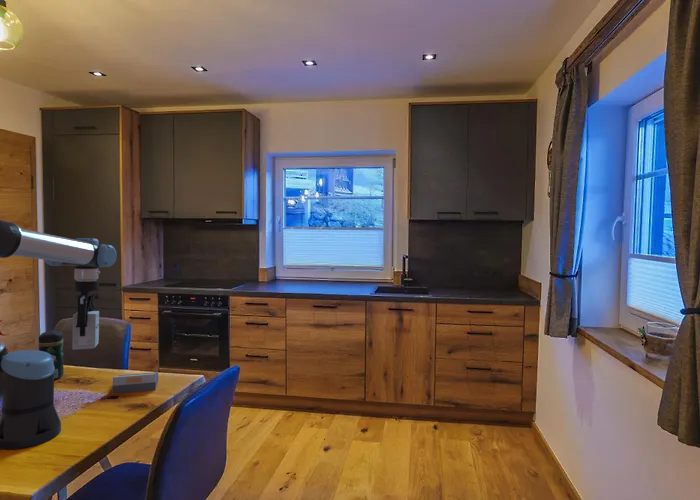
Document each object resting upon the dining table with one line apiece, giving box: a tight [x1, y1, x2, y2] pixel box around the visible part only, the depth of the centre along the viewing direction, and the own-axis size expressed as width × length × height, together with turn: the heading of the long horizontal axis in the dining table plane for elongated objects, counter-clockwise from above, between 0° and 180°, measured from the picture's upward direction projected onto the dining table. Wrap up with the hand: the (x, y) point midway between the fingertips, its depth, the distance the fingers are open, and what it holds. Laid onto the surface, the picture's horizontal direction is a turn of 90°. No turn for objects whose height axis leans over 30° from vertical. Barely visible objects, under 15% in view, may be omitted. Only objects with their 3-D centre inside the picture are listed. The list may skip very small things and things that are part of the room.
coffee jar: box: [38, 329, 64, 380], centre depth 167 cm, size 10×8×19 cm
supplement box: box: [71, 310, 100, 350], centre depth 155 cm, size 7×7×13 cm
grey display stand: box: [112, 371, 159, 395], centre depth 159 cm, size 12×14×6 cm
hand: (85, 342), depth 155 cm, fingers closed on supplement box, 7 cm apart
